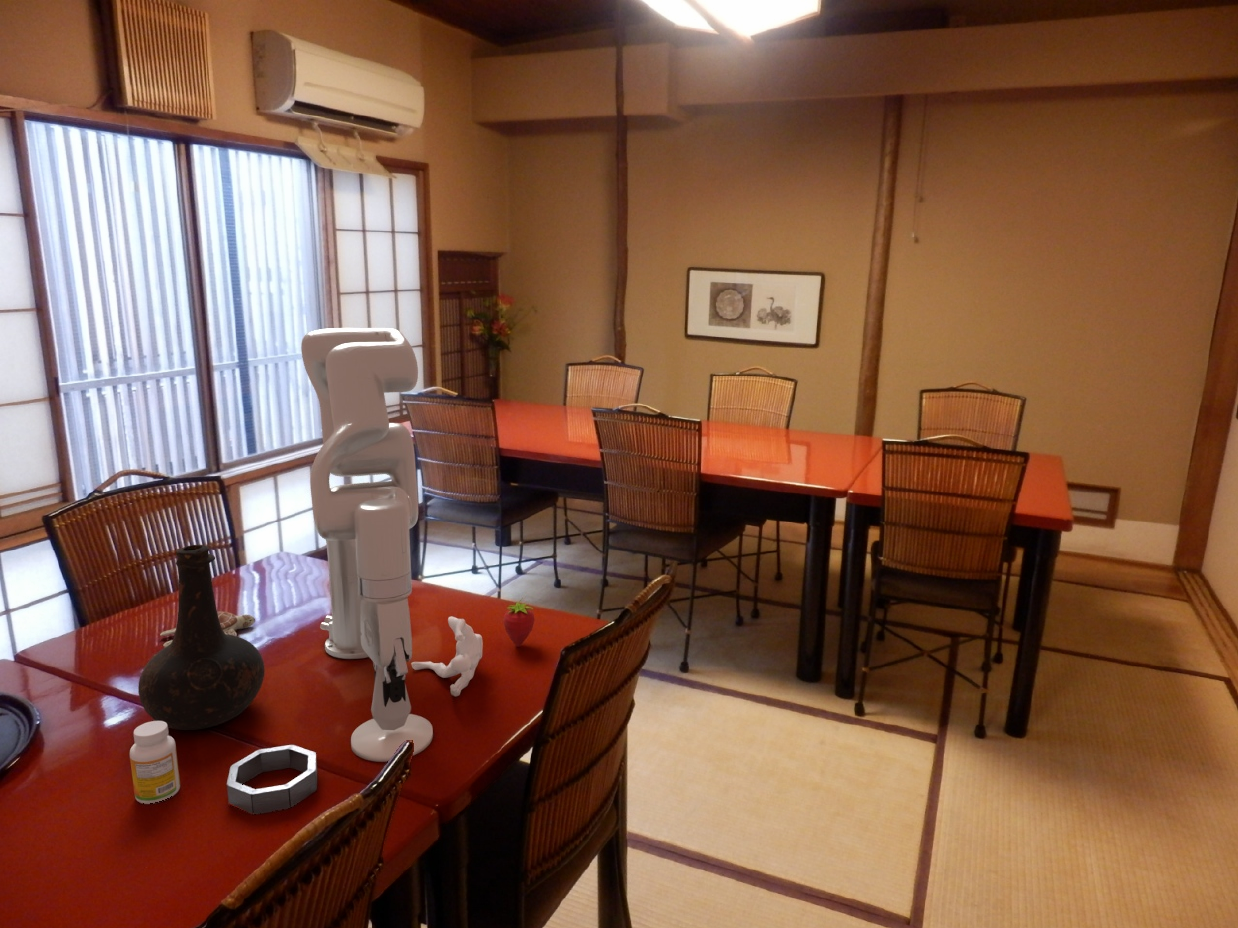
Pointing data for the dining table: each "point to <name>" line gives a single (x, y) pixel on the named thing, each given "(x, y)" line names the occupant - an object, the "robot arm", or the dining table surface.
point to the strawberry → (518, 622)
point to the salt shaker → (388, 705)
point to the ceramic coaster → (390, 738)
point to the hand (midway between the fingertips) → (390, 697)
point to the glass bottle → (200, 658)
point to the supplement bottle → (154, 763)
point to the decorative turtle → (224, 624)
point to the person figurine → (459, 656)
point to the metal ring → (275, 795)
